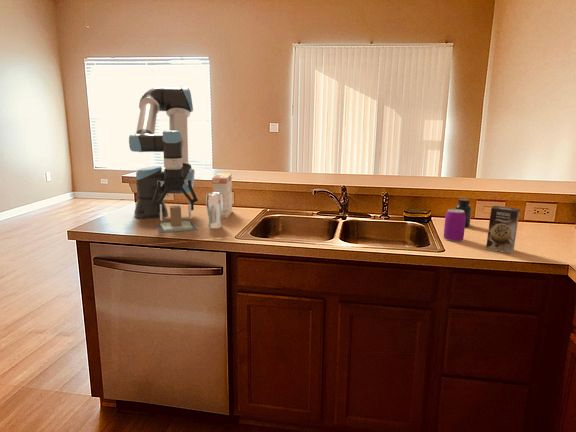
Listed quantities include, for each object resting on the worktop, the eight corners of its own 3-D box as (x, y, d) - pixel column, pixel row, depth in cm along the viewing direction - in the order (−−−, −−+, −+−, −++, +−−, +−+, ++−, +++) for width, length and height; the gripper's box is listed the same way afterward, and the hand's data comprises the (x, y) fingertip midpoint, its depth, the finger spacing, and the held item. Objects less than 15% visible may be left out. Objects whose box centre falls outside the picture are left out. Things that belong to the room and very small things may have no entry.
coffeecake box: (218, 211, 222) (217, 172, 218) (232, 211, 222) (232, 173, 218) (212, 218, 208) (211, 177, 203) (227, 218, 208) (226, 177, 203)
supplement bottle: (470, 224, 202) (473, 199, 199) (469, 227, 196) (472, 201, 193) (454, 222, 205) (456, 197, 202) (453, 226, 199) (455, 200, 196)
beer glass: (219, 230, 187) (219, 195, 183) (204, 229, 188) (203, 194, 185) (225, 226, 194) (224, 192, 190) (210, 225, 195) (209, 191, 191)
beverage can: (445, 241, 175) (448, 212, 172) (441, 236, 182) (444, 208, 179) (465, 242, 174) (468, 213, 171) (460, 237, 181) (463, 208, 178)
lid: (160, 225, 192) (159, 204, 190) (188, 222, 196) (187, 203, 194) (163, 231, 181) (162, 210, 179) (192, 229, 185) (191, 208, 183)
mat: (155, 225, 193) (155, 224, 193) (191, 222, 199) (191, 221, 199) (159, 234, 179) (158, 233, 179) (198, 231, 184) (198, 230, 184)
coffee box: (485, 249, 165) (490, 207, 161) (488, 245, 170) (493, 204, 166) (512, 254, 160) (518, 211, 156) (514, 249, 165) (520, 208, 161)
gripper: (144, 170, 175) (147, 223, 180) (203, 168, 184) (205, 218, 189) (143, 168, 182) (146, 219, 187) (200, 166, 190) (201, 215, 195)
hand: (175, 219), depth 188 cm, fingers open, 11 cm apart
